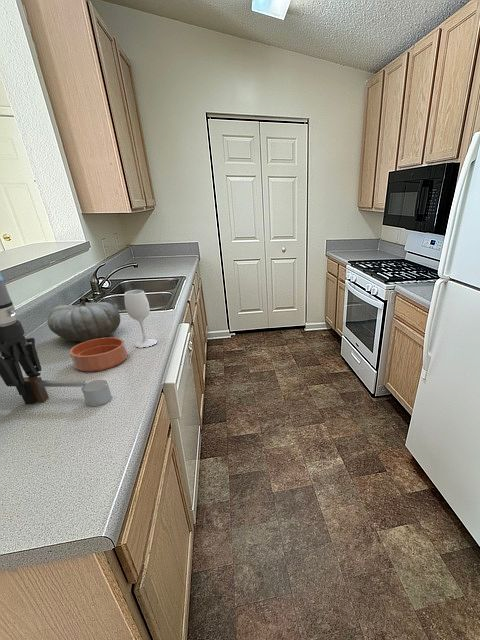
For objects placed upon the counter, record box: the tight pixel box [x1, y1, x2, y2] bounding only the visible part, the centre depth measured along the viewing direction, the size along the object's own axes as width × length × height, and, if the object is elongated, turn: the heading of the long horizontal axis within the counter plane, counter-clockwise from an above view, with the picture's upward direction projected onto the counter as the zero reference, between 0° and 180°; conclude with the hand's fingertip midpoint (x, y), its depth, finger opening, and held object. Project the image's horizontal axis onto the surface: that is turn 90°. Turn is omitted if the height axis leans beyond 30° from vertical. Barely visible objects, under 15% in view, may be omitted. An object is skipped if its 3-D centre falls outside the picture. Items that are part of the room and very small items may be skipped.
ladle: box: [23, 376, 113, 407], centre depth 94 cm, size 24×6×7 cm, turn 89°
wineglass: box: [123, 289, 158, 349], centre depth 128 cm, size 9×9×21 cm
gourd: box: [47, 297, 121, 343], centre depth 136 cm, size 25×25×17 cm
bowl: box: [69, 336, 128, 373], centre depth 117 cm, size 17×17×6 cm
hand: (35, 399), depth 96 cm, fingers closed on ladle, 2 cm apart
